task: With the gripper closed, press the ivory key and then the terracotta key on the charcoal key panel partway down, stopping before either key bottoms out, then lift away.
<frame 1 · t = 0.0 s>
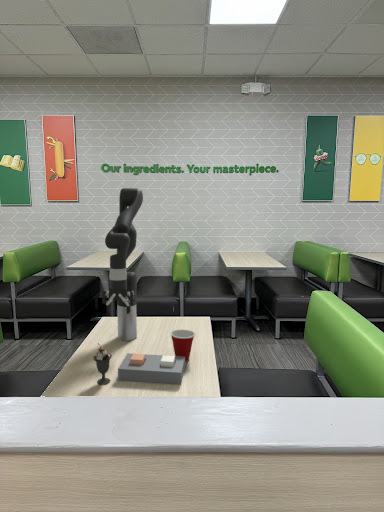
hand: (118, 313, 152), 17 cm above the table, tool pointing down, fingers open, 8 cm apart
ivory key: (167, 363, 132), point 5 cm above the table, slide at 0.0 cm
plastic cup: (182, 359, 146), on the table
terracotta key: (137, 361, 133), point 5 cm above the table, slide at 0.0 cm
sundae: (103, 382, 127), on the table
key panel: (152, 374, 133), on the table
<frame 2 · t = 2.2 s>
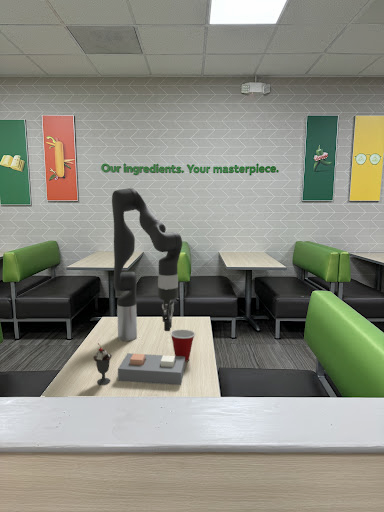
hand: (168, 329, 129), 19 cm above the table, tool pointing down, fingers closed
nothing on the table moved.
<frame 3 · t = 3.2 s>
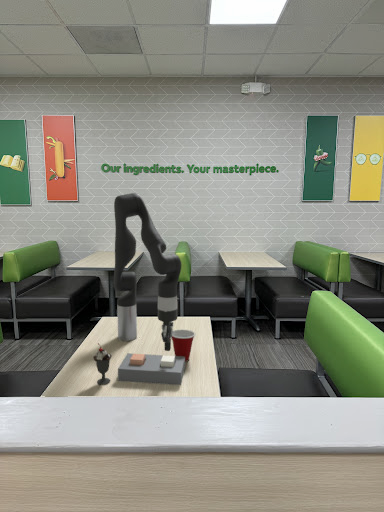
hand: (167, 350, 130), 11 cm above the table, tool pointing down, fingers closed
nothing on the table moved.
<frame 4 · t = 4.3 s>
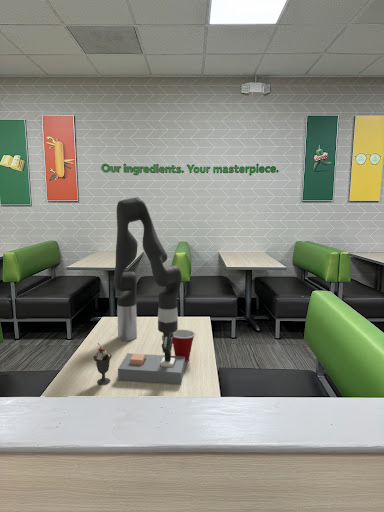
hand: (167, 360, 131), 6 cm above the table, tool pointing down, fingers closed
ivory key: (167, 365, 132), point 4 cm above the table, slide at 0.8 cm, touching gripper
everything else where it was.
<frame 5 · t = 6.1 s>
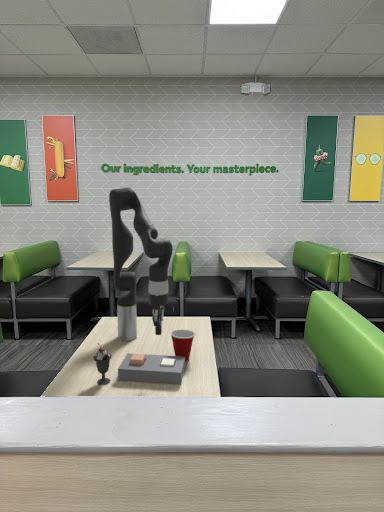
hand: (158, 334, 131), 17 cm above the table, tool pointing down, fingers closed
ivory key: (167, 366, 132), point 4 cm above the table, slide at 1.2 cm
everything else where it was.
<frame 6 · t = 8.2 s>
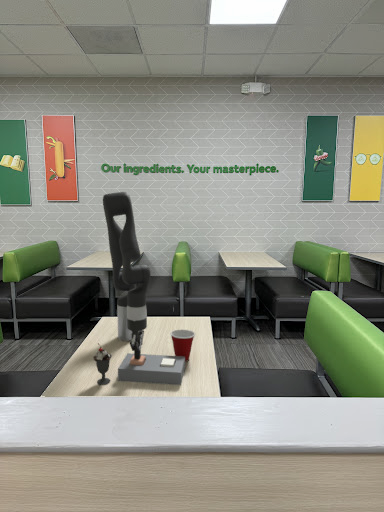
hand: (137, 358, 132), 6 cm above the table, tool pointing down, fingers closed
terracotta key: (137, 363, 133), point 4 cm above the table, slide at 0.6 cm, touching gripper
everything else where it was.
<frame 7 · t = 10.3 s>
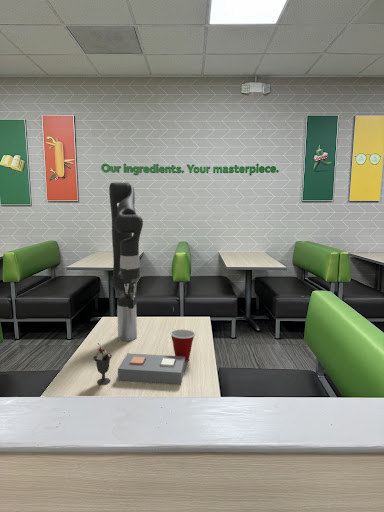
hand: (131, 308, 135), 25 cm above the table, tool pointing down, fingers closed
terracotta key: (137, 364, 133), point 4 cm above the table, slide at 1.2 cm
everything else where it was.
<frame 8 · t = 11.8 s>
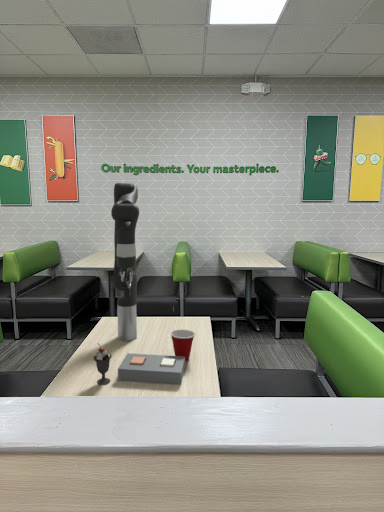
hand: (127, 296, 137), 29 cm above the table, tool pointing down, fingers closed
nothing on the table moved.
at the end: ivory key slide at 1.2 cm; terracotta key slide at 1.2 cm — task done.
